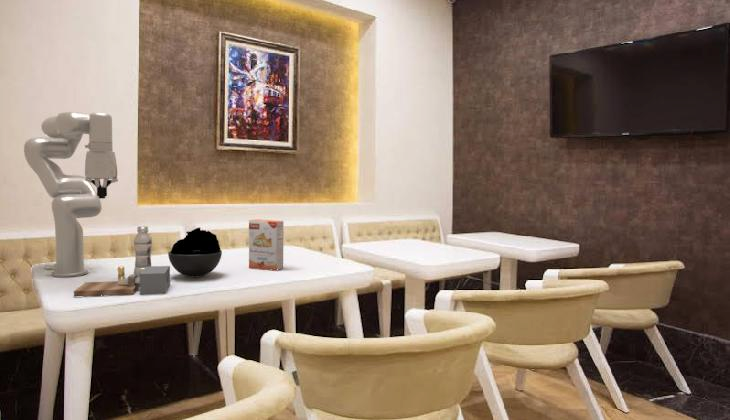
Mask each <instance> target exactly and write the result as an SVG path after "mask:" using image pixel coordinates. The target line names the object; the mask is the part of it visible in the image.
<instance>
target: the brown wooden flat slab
mask: <svg viewBox="0 0 730 420" xmlns="http://www.w3.org/2000/svg"><path fill="white" fill-rule="evenodd" d="M135 277H137V274H134V273H131V274H129V275H128V276H127V278H128V284H118V280H116V281H114V280H113V281H87V282H86V281H85V282H84V283H83V284H81V285H80V286H79V287H77V288H76V289H75V290H74V291H73V297H74V296H93V297H105V296H104V295H119V296H133V295H135V294H136V292H137V291H138V290H140V283H135ZM101 295H102V296H101Z"/></svg>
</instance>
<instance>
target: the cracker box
mask: <svg viewBox="0 0 730 420" xmlns="http://www.w3.org/2000/svg"><path fill="white" fill-rule="evenodd" d="M248 268H249V269H255V268H259V270H265V269H272V270H271V271H274V270H277V269H280V270H282V269H281V268H283V269H284V220H273V219H257V218H256V219H250V220H248ZM277 271H278V270H277Z"/></svg>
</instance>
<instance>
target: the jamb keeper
mask: <svg viewBox="0 0 730 420" xmlns="http://www.w3.org/2000/svg"><path fill="white" fill-rule="evenodd" d="M170 286H171V266H170V265H157V266H156V265H154V266H153V265H151V266H149V267H145V268H144V270H143V271H142V272H141V273H140V287H139V295H164V294H166V293H167V291H168V289H169V288H170Z"/></svg>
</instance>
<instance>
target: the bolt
mask: <svg viewBox="0 0 730 420" xmlns="http://www.w3.org/2000/svg"><path fill="white" fill-rule="evenodd" d="M117 281H118V284H128V277H125V266H124V265H123V266H118V267H117ZM135 283H140V277H135Z"/></svg>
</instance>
